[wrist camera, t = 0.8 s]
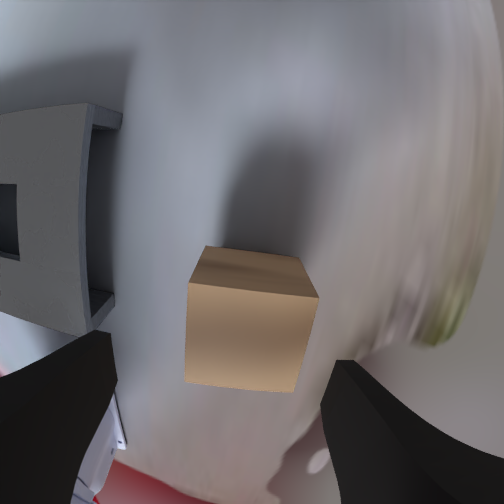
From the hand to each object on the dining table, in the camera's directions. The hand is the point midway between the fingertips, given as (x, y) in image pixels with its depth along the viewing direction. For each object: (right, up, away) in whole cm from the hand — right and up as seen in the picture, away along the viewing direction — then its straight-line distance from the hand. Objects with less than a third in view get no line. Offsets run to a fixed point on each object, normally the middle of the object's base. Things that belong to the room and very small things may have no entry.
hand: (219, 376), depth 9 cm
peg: (+1, +2, +10) cm, 10 cm away
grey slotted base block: (-18, +7, +8) cm, 21 cm away
